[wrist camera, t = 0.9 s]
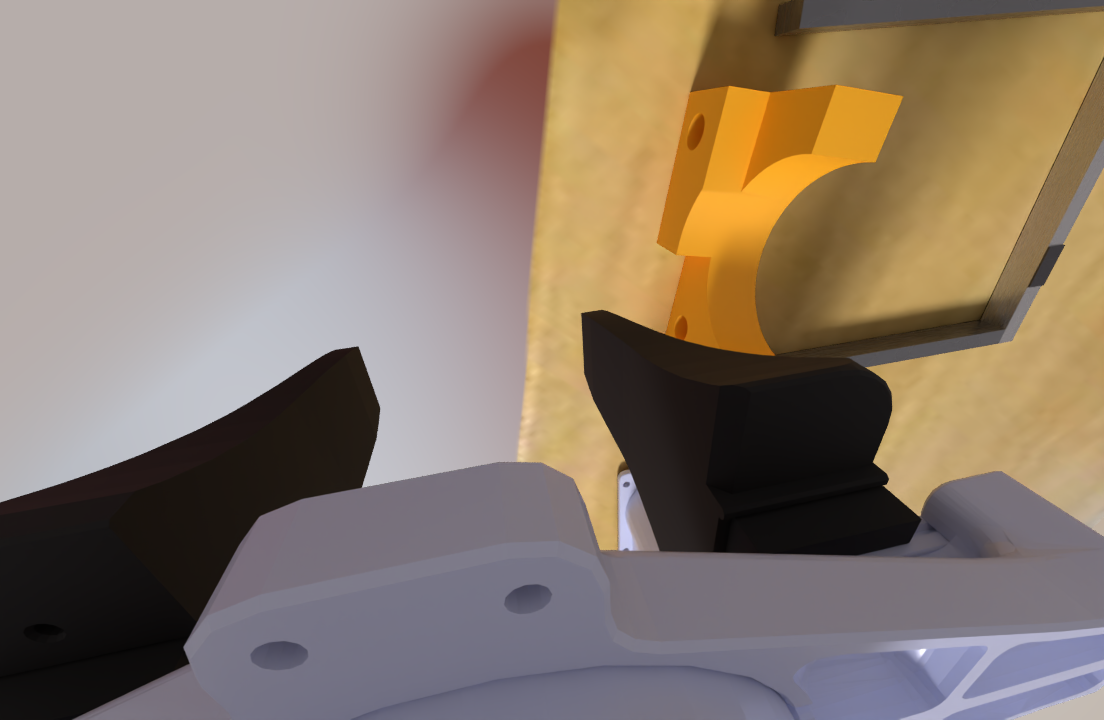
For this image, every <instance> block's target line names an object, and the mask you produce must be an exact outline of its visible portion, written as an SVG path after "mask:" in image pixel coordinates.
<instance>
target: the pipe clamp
mask: <svg viewBox="0 0 1104 720" xmlns="http://www.w3.org/2000/svg"><path fill="white" fill-rule="evenodd" d="M902 99H903V96H899V95H893V94H887V93H881V92H876V91H870V90H864V89H858V88H852V87H847V86H841V85H830V86H821V87H813V88H804V89H796V90H788V91H779V92H764V91H758V90H752V89H746V88H740V87H733V86H725V87H719V88H712V89H706V90H700V91H694V92H690V95H689V100H688V104H687V109H686V113H685V118H684V122H683V127H682V131H681V136H680V140H679V145H678V149H677V154H676V158H675V163H674V167H673V172H672V176H671V181H670V185H669V190H668V194H667V199H666V204H665V208H664V213H663V217H662V222H661V226H660V231H659V235H658V240H657V244H659V245H661V246H662V247H664V248H666V249H667V250H669V251H671V252H672V253H674V254H676V255H683V256H686V257H685V261H684V264H683V268H682V272H681V276H680V280H679V284H678V288H677V292H676V296H675V299H674V303H673V307H672V311H671V315H670V319H669V323H668V327H667V331H666V335H669V336H671V337H674V338H677V339H681V340H684V341H688V342H692V343H696V344H700V345H704V346H708V347H713V348H718V349H723V350H730V351H736V352H742V353H750V354H759V355H771V356H775V355H774V353H773V352H772V351H771V349H770V348H769V346H768V344H767V343H766V341H765V338H764V336H763V334H762V331H761V329H760V325H759V322H758V317H757V312H756V303H755V286H756V276H757V270H758V265H759V261H760V258H761V254H762V251H763V248H764V246H765V243H766V241H767V238H768V236H769V234H770V232H771V230H772V228H773V226H774V225H775V223H776V221H777V220H778V218H779V217H780V215H781V214H782V212H783V211H784V210H785V208H786V207H787V206H788V205H789V203H790V202H791V201H792V200H793V199H794V198H795V197H796V196H797V195H798V194H799V193H800V192H801V191H802V190H803V189H804V188H805V187H807V186H808V185H809V184H811V183H812V182H813V181H815V180H816V179H818V178H819V177H821V176H823V175H824V174H826V173H828V172H830V171H832V170H835V169H837V168H840V167H843V166H846V165H850V164H855V163H863V162H876V160H877V157H878V155H879V153H880V150H881V148H882V145H883V143H884V141H885V138H886V136H887V134H888V131H889V129H890V127H891V124H892V122H893V120H894V117H895V115H896V113H897V110H898V108H899V106H900V103H901V101H902Z"/></svg>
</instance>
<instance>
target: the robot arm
mask: <svg viewBox="0 0 1104 720" xmlns="http://www.w3.org/2000/svg"><path fill="white" fill-rule="evenodd" d="M581 315H582V335H583V355H584V374H585V377H586V380H587V383H588V386H589V389H590V391H591V394H592V397H593V400H594V402H595V404H596V406H597V408H598V409H599V411H600V413H601V415H602V417H603V419H604V421H605V423H606V425H607V427H608V428H609V430H610V432H611V434H612V436H613V438H614V440H615V442H616V443H617V445H618V447H619V449H620V451H621V453H622V455H623V457H624V459H625V461H626V463H627V465H628V467H629V470H624V471H622V472H620V473H619V475H618V550H600V549H599V546H598V543H597V540H596V537H595V533H594V530H593V527H592V524H591V521H590V518H589V515H588V511H587V508H586V505H585V503H584V501H583V499H582V496H581V494H580V492H579V490H578V488H577V486H576V484H575V482H574V480H573V478H571V477H569V476H567V475H565V474H563V473H561V472H559V471H557V470H555V469H553V468H551V467H549V466H547V465H545V464H543V463H527V462H497V463H492V464H487V465H481V466H476V467H470V468H465V469H460V470H454V471H449V472H444V473H438V474H433V475H428V476H422V477H417V478H412V479H407V480H401V481H396V482H390V483H385V484H380V485H375V486H369V487H364V488H362V485H363V481H364V478H365V475H366V472H367V469H368V465H369V461H370V459H371V455H372V452H373V449H374V445H375V442H376V438H377V431H378V424H379V415H380V406H379V403H378V400H377V397H376V395H375V392H374V389H373V386H372V383H371V381H370V378H369V375H368V372H367V369H366V367H365V364H364V361H363V358H362V356H361V353H360V350H359V347H351V348H345V349H339V350H334V351H331V352H329V353H327V354H325V355H324V356H322V357H320V358H319V359H317V360H315V361H314V362H312V363H311V364H309V365H307V366H306V367H304V368H303V369H301V370H300V371H298V372H297V373H295V374H294V375H292V376H291V377H289V378H288V379H286V380H285V381H283V382H282V383H280V384H279V385H277V386H275V387H273V388H272V389H270V390H269V391H267V392H265V393H264V394H262V395H260V396H259V397H257V398H256V399H254V400H253V401H251V402H249V403H247V404H246V405H244V406H242V407H240V408H239V409H237V410H235V411H233V412H232V413H230V414H228V415H226V416H224V417H222V418H220V419H218V420H216V421H214V422H212V423H210V424H208V425H206V426H204V427H202V428H200V429H198V430H196V431H194V432H192V433H190V434H187V435H185V436H183V437H181V438H179V439H176V440H174V441H171V442H169V443H167V444H164V445H162V446H160V447H158V448H155V449H153V450H151V451H148V452H146V453H144V454H141V455H139V456H136V457H134V458H131V459H128V460H126V461H123V462H121V463H118V464H115V465H113V466H110V467H107V468H104V469H102V470H99V471H96V472H94V473H91V474H88V475H85V476H82V477H79V478H76V479H74V480H70V481H67V482H64V483H61V484H58V485H55V486H52V487H49V488H46V489H43V490H39V491H36V492H33V493H30V494H27V495H23V496H20V497H17V498H13V499H10V500H7V501H4V502H1V503H0V720H1013V719H1015V718H1018V717H1021V716H1024V715H1027V714H1030V713H1032V712H1035V711H1038V710H1041V709H1044V708H1047V707H1050V706H1053V705H1056V704H1059V703H1063V702H1065V701H1069V700H1072V699H1075V698H1078V697H1081V696H1084V695H1088V694H1091V693H1094V692H1096V691H1097V690H1099V689H1100V688H1101V687H1103V686H1104V537H1103V536H1102V535H1100V534H1099V533H1097V532H1095V531H1094V530H1092V529H1091V528H1089V527H1088V526H1086V525H1085V524H1083V523H1082V522H1080V521H1078V520H1077V519H1075V518H1074V517H1072V516H1071V515H1069V514H1067V513H1066V512H1064V511H1063V510H1061V509H1060V508H1058V507H1057V506H1055V505H1053V504H1052V503H1050V502H1049V501H1047V500H1046V499H1044V498H1042V497H1041V496H1039V495H1038V494H1036V493H1035V492H1033V491H1032V490H1030V489H1028V488H1027V487H1025V486H1024V485H1022V484H1021V483H1019V482H1017V481H1016V480H1014V479H1013V478H1011V477H1010V476H1008V475H1007V474H1005V473H1003V472H1002V471H993V472H989V473H984V474H980V475H975V476H971V477H966V478H962V479H957V480H953V481H949V482H946V483H944V484H941V485H940V486H938V487H937V488H936V489H934V490H933V491H932V492H931V493H930V495H929V496H928V497H927V499H926V501H925V503H924V505H923V508H922V511H921V516H918V515H916V514H915V513H914V512H913V511H912V510H911V509H909V508H908V507H907V506H906V505H905V504H904V503H902V502H901V501H900V500H899V499H898V498H897V497H895V496H894V495H893V494H892V493H891V492H890V491H888V490H887V489H886V488H885V487H884V486H883V485H886V484H887V483H888V480H889V478H888V475H887V474H886V473H885V472H884V471H883V470H881V469H880V468H879V467H878V466H877V465H875V464H874V463H873V460H874V458H875V455H876V453H877V451H878V448H879V446H880V443H881V441H882V438H883V436H884V433H885V431H886V428H887V426H888V423H889V419H890V416H891V412H892V395H891V391H890V389H889V387H888V385H887V383H886V381H884V380H883V379H882V378H880V377H879V376H878V375H876V374H875V373H873V372H872V371H870V370H868V369H867V368H865V367H863V366H862V365H860V364H858V363H857V362H855V361H853V360H852V359H850V358H832V357H785V356H771V355H759V354H750V353H742V352H736V351H730V350H723V349H718V348H713V347H708V346H704V345H700V344H696V343H692V342H688V341H684V340H681V339H677V338H674V337H671V336H669V335H666V334H663V333H660V332H657V331H654V330H652V329H649V328H647V327H644V326H642V325H639V324H637V323H635V322H632V321H630V320H628V319H625V318H623V317H621V316H618V315H616V314H613V313H611V312H608V311H605V310H598V311H592V312H585V313H581ZM625 482H626V483H625Z"/></svg>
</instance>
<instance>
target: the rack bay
mask: <svg viewBox="0 0 1104 720" xmlns="http://www.w3.org/2000/svg"><path fill="white" fill-rule="evenodd" d="M1097 11H1104V0H791V1H789V2H786V3H784V4H781V5H779V10H778V17H777V24H776V31H775V36H780V35H793V34H807V33H820V32H833V31H846V30H859V29H873V28H886V27H899V26H912V25H925V24H938V23H952V22H965V21H978V20H991V19H1004V18H1018V17H1031V16H1044V15H1057V14H1070V13H1083V12H1097ZM1103 168H1104V60H1103V62H1102V64H1101V66H1100V68H1099V70H1098V72H1097V74H1096V77H1095V79H1094V81H1093V83H1092V85H1091V87H1090V89H1089V91H1088V94H1087V96H1086V98H1085V100H1084V102H1083V104H1082V106H1081V108H1080V110H1079V113H1078V115H1077V117H1076V119H1075V121H1074V123H1073V125H1072V127H1071V129H1070V132H1069V134H1068V136H1067V138H1066V140H1065V142H1064V144H1063V146H1062V149H1061V151H1060V153H1059V155H1058V157H1057V159H1056V161H1055V163H1054V165H1053V168H1052V170H1051V172H1050V174H1049V176H1048V178H1047V180H1046V182H1045V184H1044V187H1043V189H1042V191H1041V193H1040V195H1039V197H1038V199H1037V201H1036V204H1035V206H1034V208H1033V210H1032V212H1031V214H1030V216H1029V218H1028V220H1027V223H1026V225H1025V227H1024V229H1023V231H1022V233H1021V235H1020V237H1019V239H1018V242H1017V244H1016V246H1015V248H1014V250H1013V252H1012V254H1011V256H1010V259H1009V261H1008V263H1007V265H1006V267H1005V269H1004V271H1003V273H1002V275H1001V278H1000V280H999V282H998V284H997V286H996V288H995V290H994V292H993V294H992V297H991V299H990V301H989V303H988V305H987V307H986V309H985V311H984V314H983V316H982V318H981V320H977V321H971V322H965V323H960V324H954V325H948V326H942V327H936V328H930V329H925V330H919V331H913V332H907V333H901V334H895V335H890V336H884V337H878V338H872V339H866V340H860V341H855V342H849V343H843V344H837V345H831V346H825V347H820V348H814V349H808V350H802V351H796V352H790V353H784V354H779V355H775V356H785V357H832V358H850V359H852V360H853V361H855V362H857V363H858V364H860V365H862V366H863V367H870V366H876V365H881V364H887V363H892V362H898V361H903V360H909V359H915V358H920V357H926V356H931V355H937V354H942V353H948V352H953V351H959V350H965V349H970V348H976V347H981V346H987V345H992V344H998V343H1004V342H1009V341H1012V340H1013V338H1014V336H1015V334H1016V332H1017V330H1018V329H1019V327H1020V325H1021V323H1022V321H1023V319H1024V317H1025V315H1026V313H1027V312H1028V310H1029V308H1030V306H1031V304H1032V302H1033V300H1034V298H1035V296H1036V295H1037V293H1038V291H1039V289H1040V287H1041V286H1042V285H1044V284H1045V282H1046V280H1047V278H1048V276H1049V274H1050V272H1051V271H1052V269H1053V267H1054V265H1055V263H1056V261H1057V259H1058V257H1059V255H1060V254H1061V252H1062V250H1063V248H1064V246H1065V245H1063V243H1064V242H1065V240H1066V238H1067V236H1068V234H1069V232H1070V230H1071V228H1072V226H1073V225H1074V223H1075V221H1076V219H1077V217H1078V215H1079V213H1080V211H1081V209H1082V207H1083V206H1084V204H1085V202H1086V200H1087V198H1088V196H1089V194H1090V192H1091V190H1092V189H1093V187H1094V185H1095V183H1096V181H1097V179H1098V177H1099V175H1100V173H1101V172H1102V170H1103Z"/></svg>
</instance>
